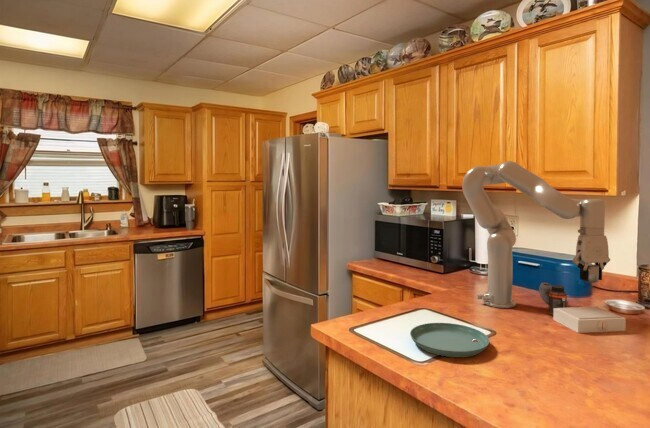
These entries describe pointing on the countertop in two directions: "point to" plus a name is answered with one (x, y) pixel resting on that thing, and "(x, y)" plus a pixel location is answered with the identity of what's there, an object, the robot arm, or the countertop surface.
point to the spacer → (593, 273)
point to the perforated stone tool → (545, 291)
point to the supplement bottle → (557, 298)
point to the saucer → (449, 339)
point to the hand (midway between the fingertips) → (590, 279)
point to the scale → (589, 319)
